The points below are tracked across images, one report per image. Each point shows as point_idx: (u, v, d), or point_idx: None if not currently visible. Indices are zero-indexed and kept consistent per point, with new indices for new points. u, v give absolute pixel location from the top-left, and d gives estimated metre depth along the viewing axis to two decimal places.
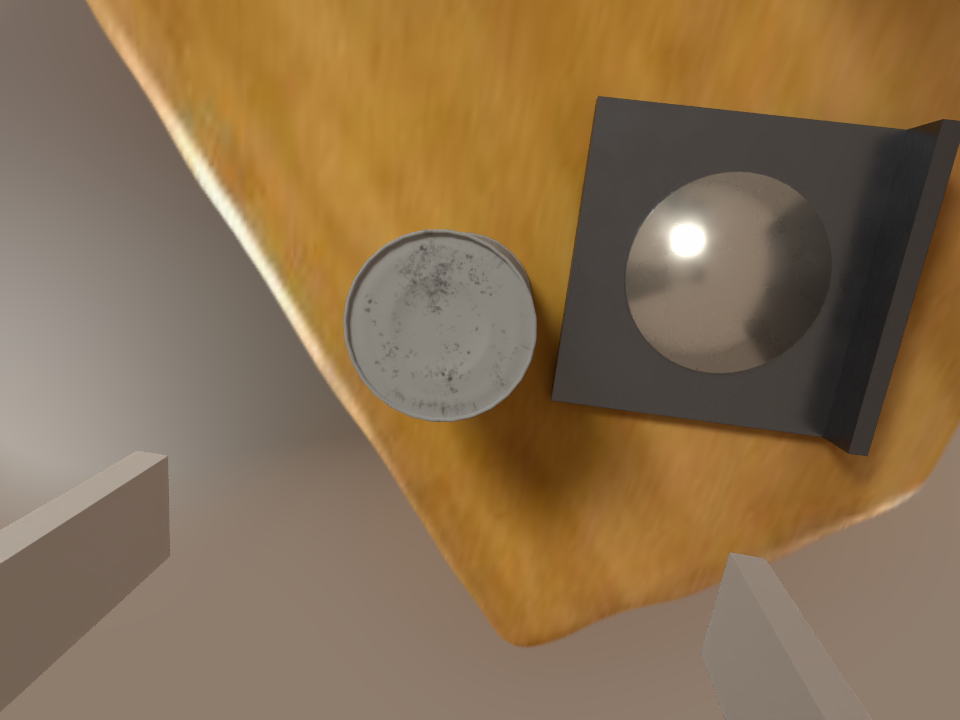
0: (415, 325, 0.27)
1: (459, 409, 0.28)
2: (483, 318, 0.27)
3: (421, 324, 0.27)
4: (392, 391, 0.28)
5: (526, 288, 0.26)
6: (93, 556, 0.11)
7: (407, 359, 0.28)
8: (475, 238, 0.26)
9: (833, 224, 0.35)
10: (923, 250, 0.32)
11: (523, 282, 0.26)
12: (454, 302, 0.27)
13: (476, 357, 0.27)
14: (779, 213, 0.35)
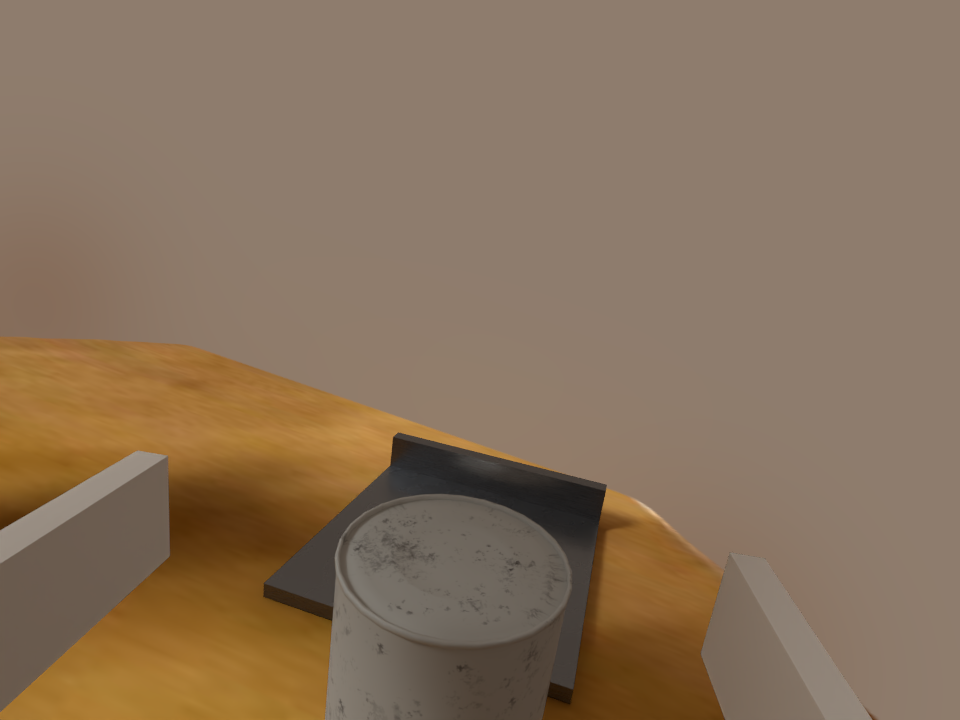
0: (444, 577, 0.21)
1: (556, 566, 0.23)
2: (453, 528, 0.25)
3: (445, 572, 0.22)
4: (529, 618, 0.20)
5: (433, 494, 0.27)
6: (93, 556, 0.11)
7: (486, 593, 0.21)
8: (370, 510, 0.25)
9: None
10: (467, 451, 0.51)
11: (427, 495, 0.27)
12: (429, 542, 0.23)
13: (496, 541, 0.24)
14: None
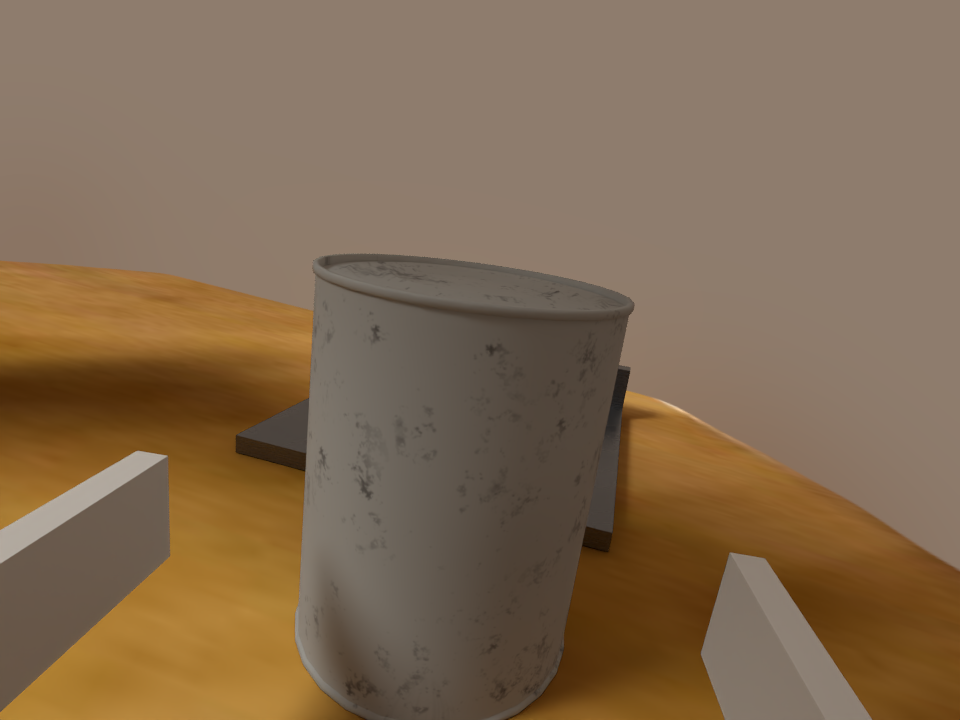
0: (462, 289, 0.16)
1: (608, 300, 0.17)
2: (469, 276, 0.19)
3: (463, 288, 0.16)
4: None
5: None
6: (93, 556, 0.11)
7: None
8: (361, 254, 0.19)
9: None
10: None
11: (433, 258, 0.21)
12: (438, 276, 0.18)
13: (525, 285, 0.18)
14: None
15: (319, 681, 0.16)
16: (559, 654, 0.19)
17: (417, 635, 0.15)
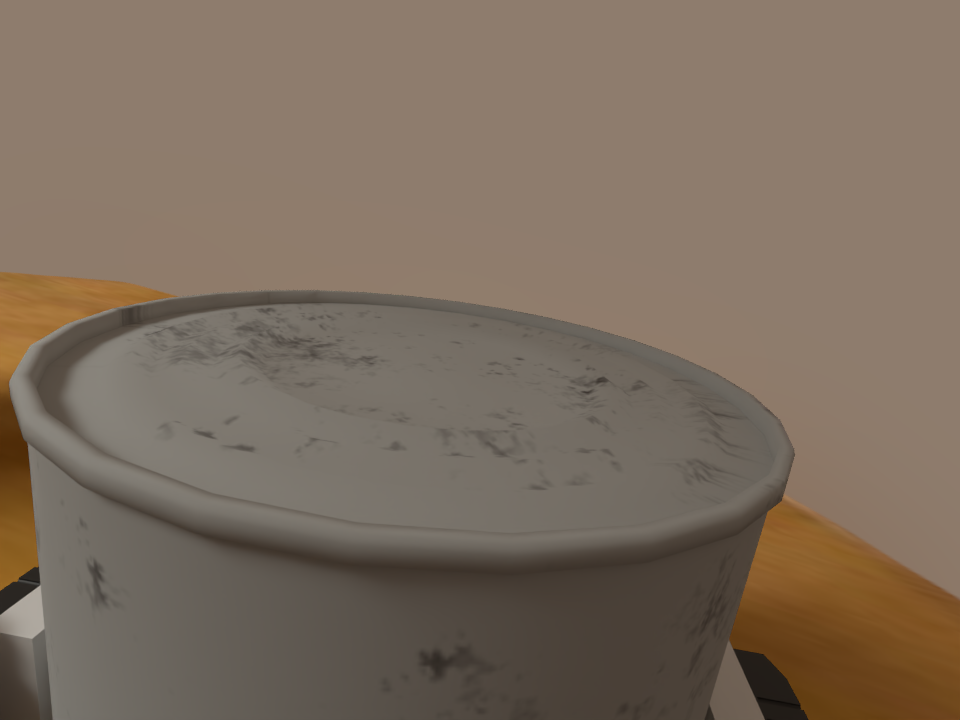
0: (397, 390, 0.07)
1: (703, 395, 0.09)
2: (431, 334, 0.10)
3: (403, 383, 0.07)
4: (692, 483, 0.05)
5: None
6: None
7: (530, 425, 0.06)
8: (233, 293, 0.10)
9: None
10: None
11: (377, 294, 0.12)
12: (366, 343, 0.09)
13: (536, 355, 0.10)
14: None
15: None
16: None
17: None
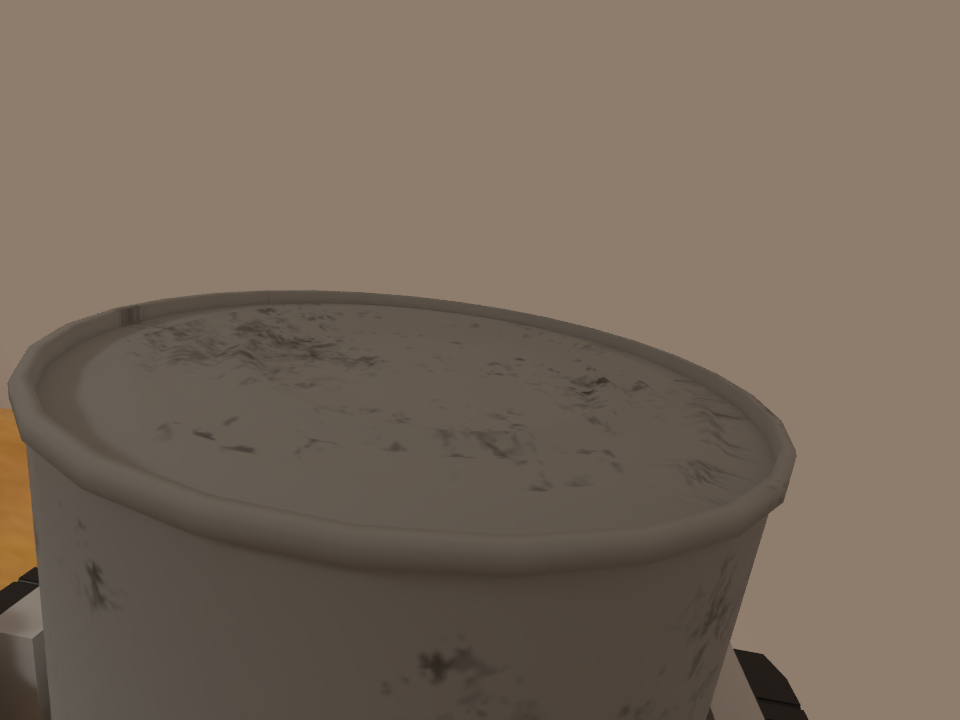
0: (397, 391, 0.07)
1: (704, 396, 0.09)
2: (432, 334, 0.10)
3: (403, 384, 0.07)
4: (693, 484, 0.05)
5: None
6: None
7: (530, 426, 0.06)
8: (233, 293, 0.10)
9: None
10: None
11: (377, 294, 0.12)
12: (366, 343, 0.09)
13: (536, 356, 0.10)
14: None
15: None
16: None
17: None
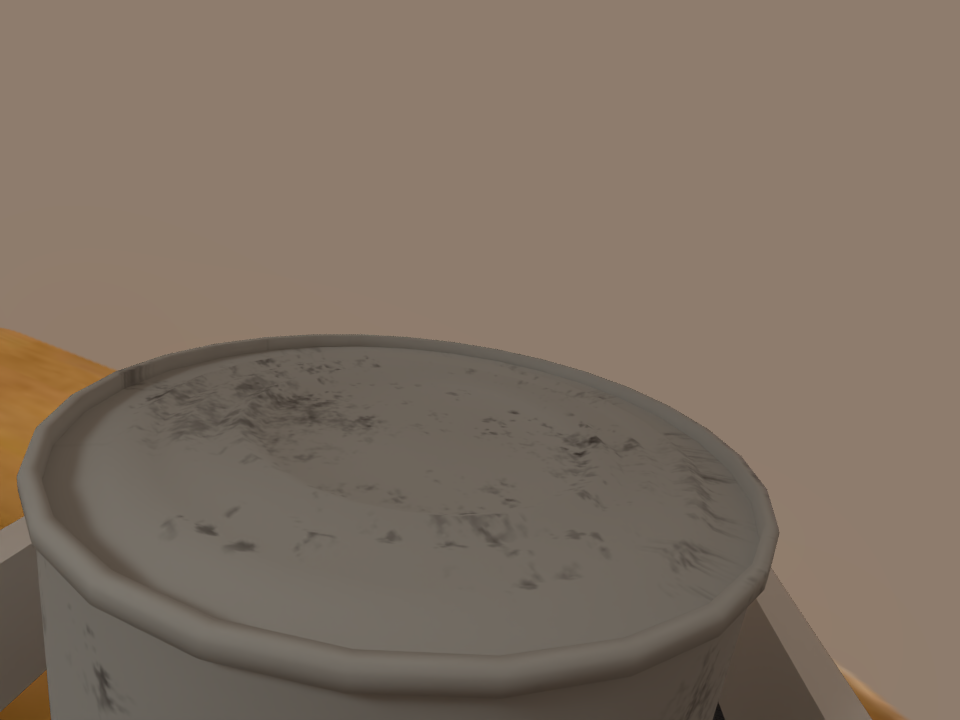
0: (393, 461, 0.07)
1: (693, 453, 0.09)
2: (428, 384, 0.10)
3: (399, 451, 0.08)
4: (678, 571, 0.06)
5: (389, 336, 0.13)
6: None
7: (522, 501, 0.07)
8: (233, 342, 0.11)
9: None
10: None
11: (375, 336, 0.12)
12: (363, 399, 0.09)
13: (530, 407, 0.10)
14: None
15: None
16: None
17: None
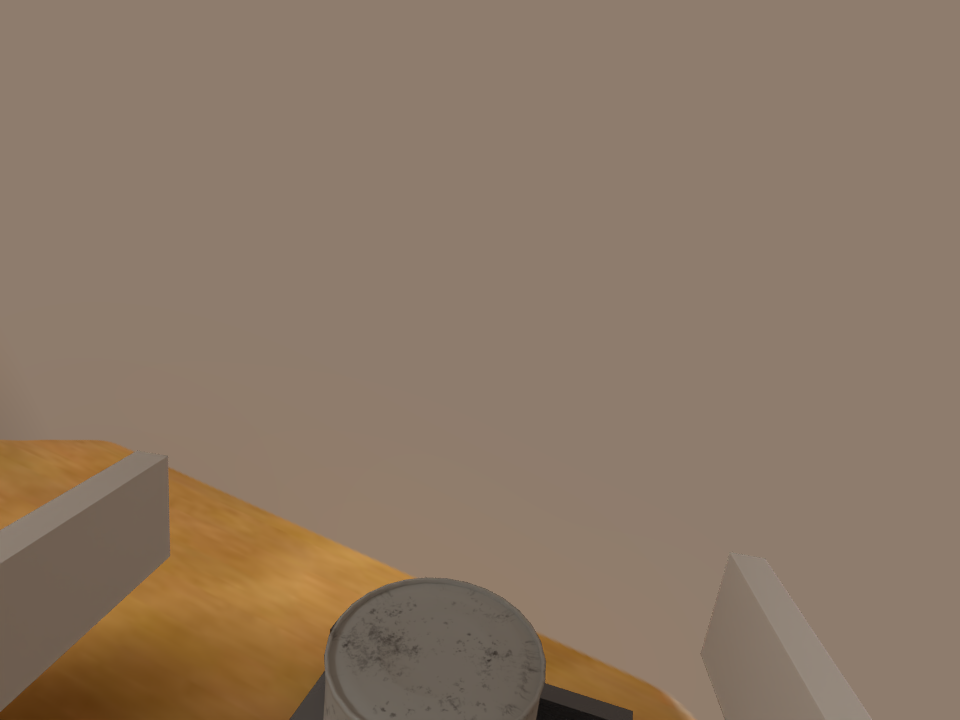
0: (426, 672, 0.23)
1: (531, 655, 0.25)
2: (436, 616, 0.26)
3: (428, 666, 0.23)
4: (503, 715, 0.21)
5: (418, 578, 0.28)
6: (93, 556, 0.11)
7: (465, 689, 0.22)
8: (358, 600, 0.26)
9: None
10: None
11: (412, 579, 0.28)
12: (412, 633, 0.25)
13: (476, 629, 0.26)
14: None
15: None
16: None
17: None
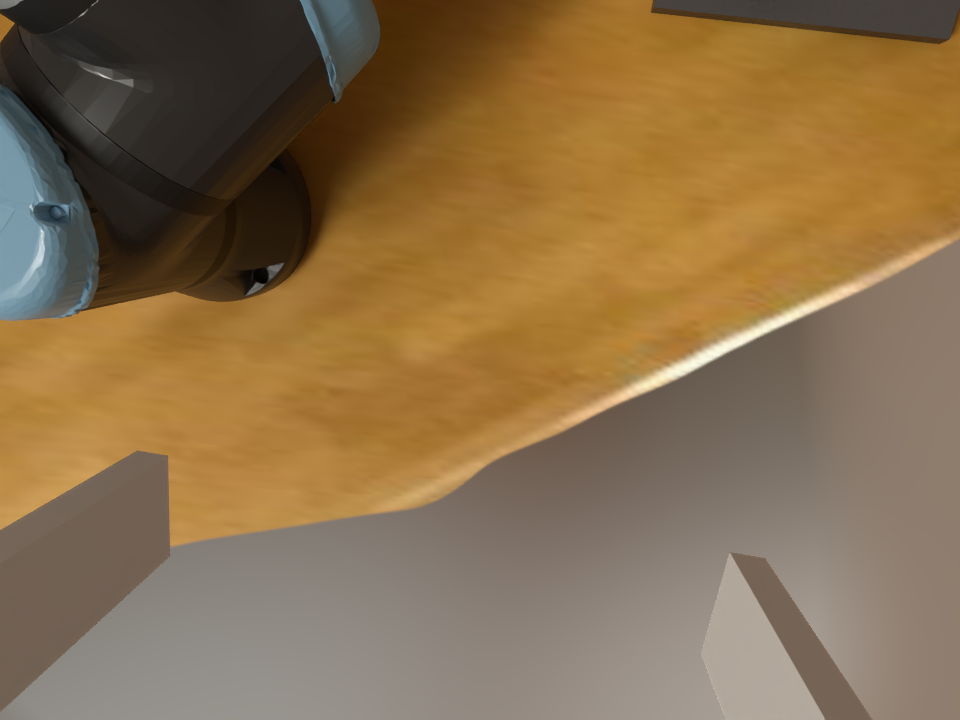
0: None
1: None
2: None
3: None
4: None
5: None
6: (93, 556, 0.11)
7: None
8: None
9: None
10: None
11: None
12: None
13: None
14: None
15: None
16: None
17: None
